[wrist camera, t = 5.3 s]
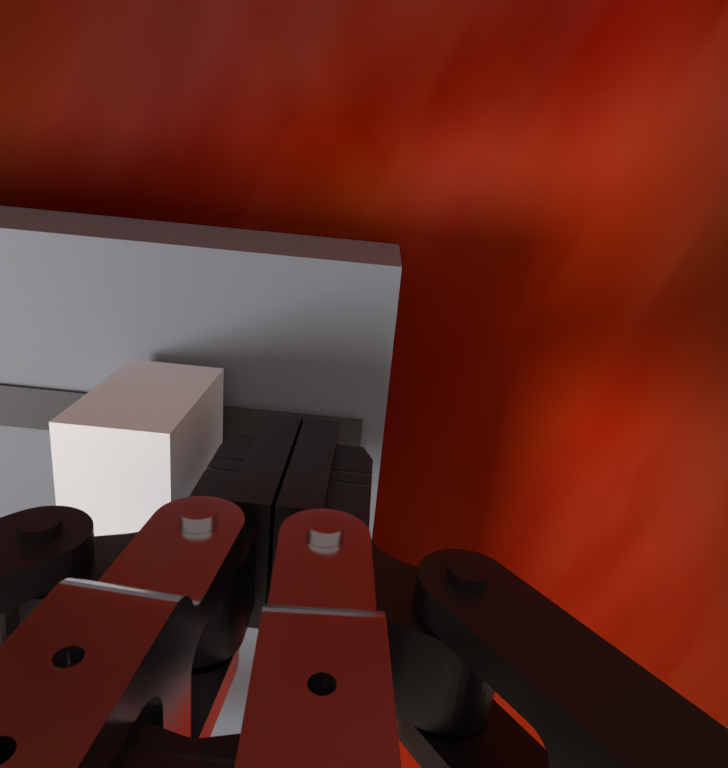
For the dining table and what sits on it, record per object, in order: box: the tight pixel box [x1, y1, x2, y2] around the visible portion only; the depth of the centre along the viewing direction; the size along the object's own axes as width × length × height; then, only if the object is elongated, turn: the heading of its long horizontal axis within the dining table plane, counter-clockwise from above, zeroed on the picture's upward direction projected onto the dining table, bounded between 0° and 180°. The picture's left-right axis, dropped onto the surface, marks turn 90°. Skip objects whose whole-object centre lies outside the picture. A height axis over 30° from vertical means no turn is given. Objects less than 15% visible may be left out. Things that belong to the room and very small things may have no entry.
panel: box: [0, 206, 402, 737], centre depth 17 cm, size 20×16×4 cm
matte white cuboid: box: [49, 359, 224, 536], centre depth 12 cm, size 2×3×4 cm, turn 175°
